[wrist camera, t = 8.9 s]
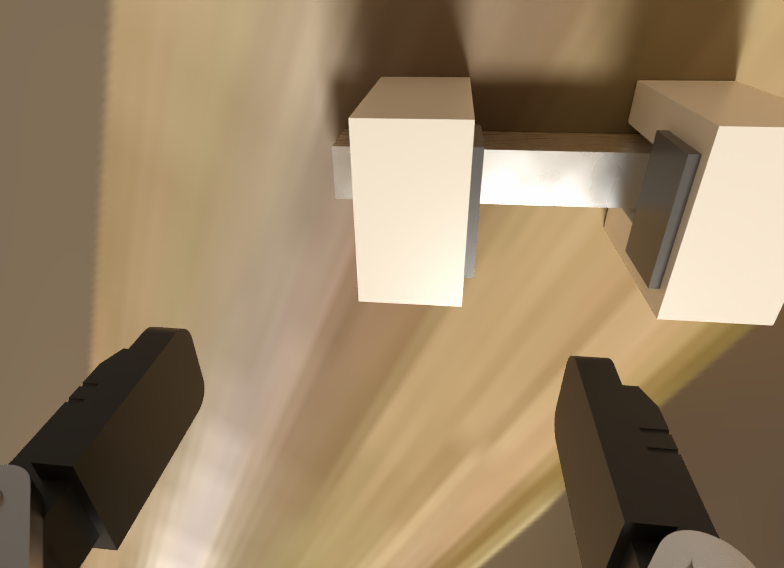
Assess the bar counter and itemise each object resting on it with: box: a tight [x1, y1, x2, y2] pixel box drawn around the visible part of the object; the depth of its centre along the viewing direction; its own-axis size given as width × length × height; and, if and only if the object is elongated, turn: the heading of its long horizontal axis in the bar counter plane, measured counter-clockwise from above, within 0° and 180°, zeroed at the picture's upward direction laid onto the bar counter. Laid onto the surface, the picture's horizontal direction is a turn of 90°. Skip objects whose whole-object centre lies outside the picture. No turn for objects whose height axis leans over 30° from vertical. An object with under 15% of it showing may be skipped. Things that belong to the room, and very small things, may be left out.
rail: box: [332, 129, 653, 209], centre depth 23 cm, size 2×17×3 cm, turn 90°
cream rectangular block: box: [348, 77, 484, 307], centre depth 21 cm, size 7×4×8 cm, turn 0°
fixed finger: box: [604, 80, 784, 325], centre depth 20 cm, size 7×4×8 cm, turn 0°
